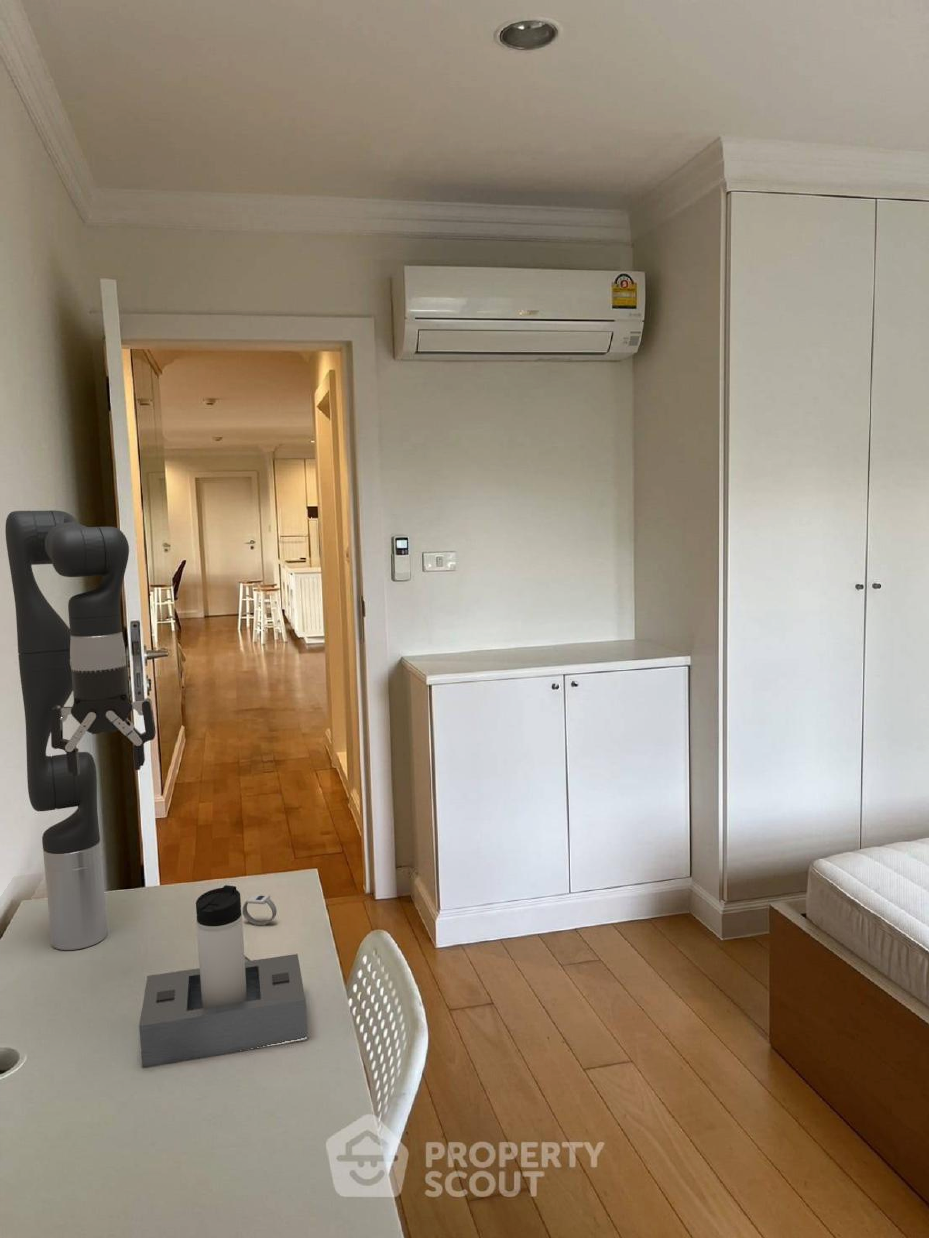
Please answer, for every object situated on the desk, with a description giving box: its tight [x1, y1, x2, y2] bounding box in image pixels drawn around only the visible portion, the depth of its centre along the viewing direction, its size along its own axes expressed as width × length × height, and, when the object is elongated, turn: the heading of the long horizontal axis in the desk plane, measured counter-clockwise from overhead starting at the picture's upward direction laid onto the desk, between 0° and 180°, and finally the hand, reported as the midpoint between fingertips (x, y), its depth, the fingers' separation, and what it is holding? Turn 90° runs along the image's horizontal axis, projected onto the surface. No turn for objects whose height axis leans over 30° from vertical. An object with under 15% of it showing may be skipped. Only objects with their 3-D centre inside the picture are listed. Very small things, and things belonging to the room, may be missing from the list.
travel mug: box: [195, 884, 247, 1009], centre depth 133 cm, size 6×7×20 cm
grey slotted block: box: [138, 953, 308, 1069], centre depth 133 cm, size 14×22×6 cm, turn 104°
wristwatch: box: [241, 893, 277, 926], centre depth 167 cm, size 6×3×5 cm, turn 77°
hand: (107, 771), depth 137 cm, fingers open, 8 cm apart
